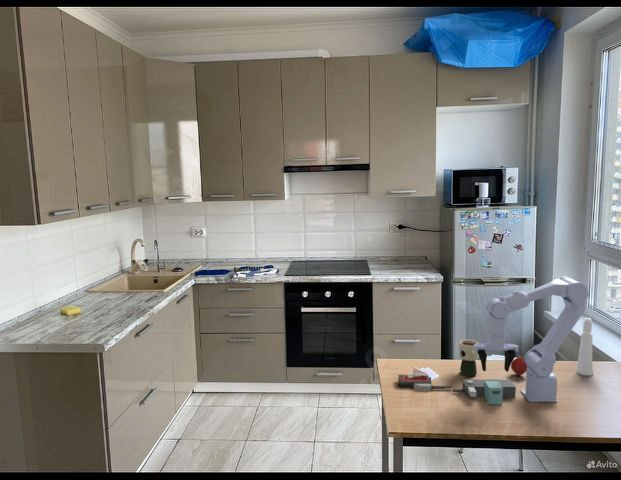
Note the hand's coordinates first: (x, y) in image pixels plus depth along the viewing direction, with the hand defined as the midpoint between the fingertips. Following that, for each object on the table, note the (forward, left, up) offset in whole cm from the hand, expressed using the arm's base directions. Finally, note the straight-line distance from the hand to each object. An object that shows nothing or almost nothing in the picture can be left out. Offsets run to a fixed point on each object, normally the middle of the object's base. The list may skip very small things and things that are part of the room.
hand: (495, 370), depth 163 cm
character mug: (+4, -18, -10) cm, 21 cm away
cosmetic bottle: (-41, -20, -10) cm, 47 cm away
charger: (+1, +3, -10) cm, 11 cm away
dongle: (+8, +2, -8) cm, 12 cm away
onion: (-15, -17, -10) cm, 25 cm away
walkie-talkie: (+23, -8, -11) cm, 27 cm away
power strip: (+3, -2, -10) cm, 11 cm away
